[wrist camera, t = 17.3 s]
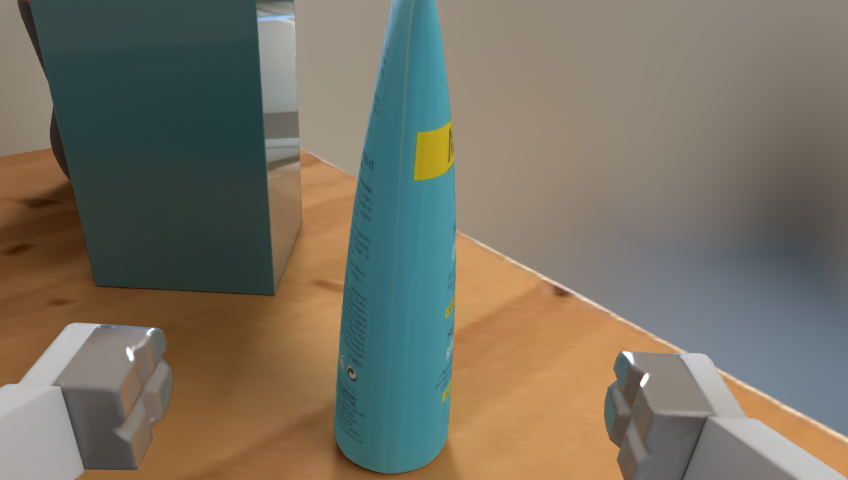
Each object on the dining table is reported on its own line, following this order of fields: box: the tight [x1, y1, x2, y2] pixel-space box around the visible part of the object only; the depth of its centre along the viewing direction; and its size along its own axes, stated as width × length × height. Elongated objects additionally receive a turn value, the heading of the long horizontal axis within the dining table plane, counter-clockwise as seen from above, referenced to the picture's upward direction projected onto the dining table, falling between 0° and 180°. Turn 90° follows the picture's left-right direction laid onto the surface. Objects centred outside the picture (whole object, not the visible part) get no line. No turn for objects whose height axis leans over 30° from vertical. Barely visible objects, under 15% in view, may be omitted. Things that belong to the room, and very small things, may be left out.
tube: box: [334, 0, 456, 474], centre depth 22 cm, size 7×5×19 cm, turn 9°
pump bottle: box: [29, 0, 302, 295], centre depth 34 cm, size 10×10×18 cm
